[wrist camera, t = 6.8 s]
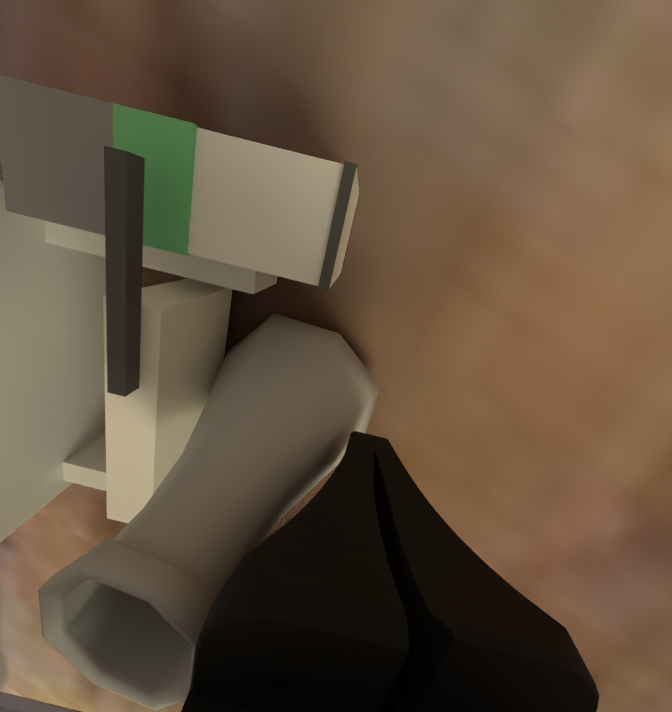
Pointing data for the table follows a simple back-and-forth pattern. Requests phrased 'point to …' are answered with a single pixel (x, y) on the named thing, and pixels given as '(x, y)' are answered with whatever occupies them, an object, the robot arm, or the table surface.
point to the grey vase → (209, 510)
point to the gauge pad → (150, 349)
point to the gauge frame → (160, 252)
